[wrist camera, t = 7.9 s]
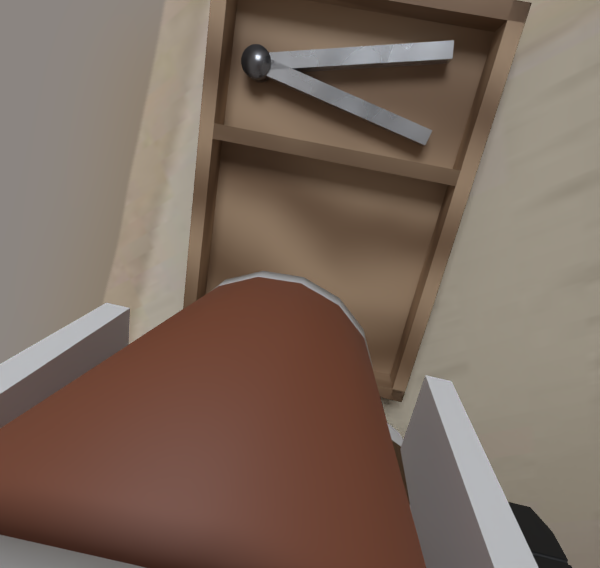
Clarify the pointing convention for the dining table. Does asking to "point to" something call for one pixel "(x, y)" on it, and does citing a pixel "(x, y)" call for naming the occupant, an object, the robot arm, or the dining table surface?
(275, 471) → the coffee cup
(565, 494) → the dining table surface
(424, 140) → the steel tongs
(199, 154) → the walnut caddy
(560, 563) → the robot arm
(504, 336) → the dining table surface
